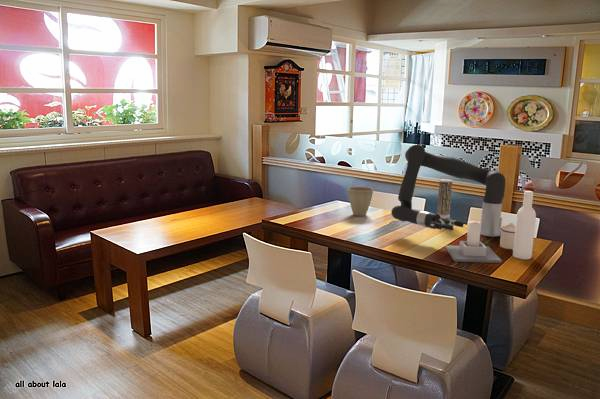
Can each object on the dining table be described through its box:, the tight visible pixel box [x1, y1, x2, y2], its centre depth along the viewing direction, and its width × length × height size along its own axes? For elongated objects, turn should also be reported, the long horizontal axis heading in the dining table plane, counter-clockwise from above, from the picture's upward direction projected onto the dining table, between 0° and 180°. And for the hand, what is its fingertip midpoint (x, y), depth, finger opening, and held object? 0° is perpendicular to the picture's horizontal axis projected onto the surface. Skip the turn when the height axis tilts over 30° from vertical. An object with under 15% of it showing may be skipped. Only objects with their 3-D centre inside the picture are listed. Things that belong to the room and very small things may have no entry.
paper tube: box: [436, 178, 453, 225], centre depth 279 cm, size 7×7×25 cm
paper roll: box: [466, 220, 481, 247], centre depth 225 cm, size 5×5×14 cm
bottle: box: [512, 190, 537, 260], centre depth 222 cm, size 8×8×30 cm
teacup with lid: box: [499, 222, 516, 250], centre depth 239 cm, size 12×9×12 cm
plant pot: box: [347, 186, 374, 217], centre depth 299 cm, size 15×15×16 cm
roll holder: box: [444, 240, 503, 264], centre depth 226 cm, size 20×20×5 cm
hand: (457, 226), depth 230 cm, fingers open, 8 cm apart
